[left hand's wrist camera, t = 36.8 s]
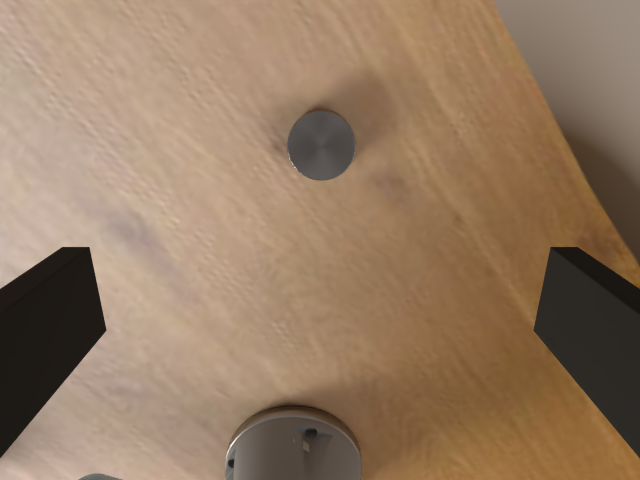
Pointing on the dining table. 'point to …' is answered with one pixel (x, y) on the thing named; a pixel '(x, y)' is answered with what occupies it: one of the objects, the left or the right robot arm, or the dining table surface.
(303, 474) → the left robot arm
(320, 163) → the lid
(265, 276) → the dining table surface
